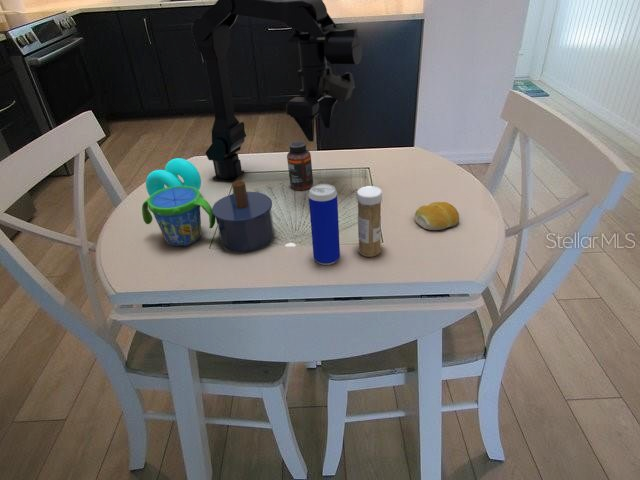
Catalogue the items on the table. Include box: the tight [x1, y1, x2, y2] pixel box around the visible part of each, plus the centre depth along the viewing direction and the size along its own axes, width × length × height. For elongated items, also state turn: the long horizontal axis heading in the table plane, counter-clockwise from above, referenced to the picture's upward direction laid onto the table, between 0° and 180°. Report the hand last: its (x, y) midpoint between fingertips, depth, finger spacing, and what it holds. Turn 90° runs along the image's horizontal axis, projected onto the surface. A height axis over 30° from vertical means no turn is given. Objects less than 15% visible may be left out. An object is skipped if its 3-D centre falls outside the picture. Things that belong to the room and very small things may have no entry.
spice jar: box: [356, 185, 383, 258], centre depth 87 cm, size 5×5×14 cm
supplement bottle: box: [286, 140, 314, 191], centre depth 114 cm, size 6×6×11 cm
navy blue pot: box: [215, 208, 275, 254], centre depth 96 cm, size 11×11×7 cm
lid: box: [211, 180, 273, 223], centre depth 93 cm, size 12×12×6 cm
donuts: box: [145, 157, 202, 197], centre depth 112 cm, size 10×10×10 cm
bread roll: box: [414, 201, 460, 231], centre depth 98 cm, size 8×9×4 cm
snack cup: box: [141, 186, 216, 247], centre depth 97 cm, size 16×10×10 cm
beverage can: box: [308, 183, 341, 266], centre depth 86 cm, size 5×5×15 cm
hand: (319, 134), depth 107 cm, fingers open, 9 cm apart
